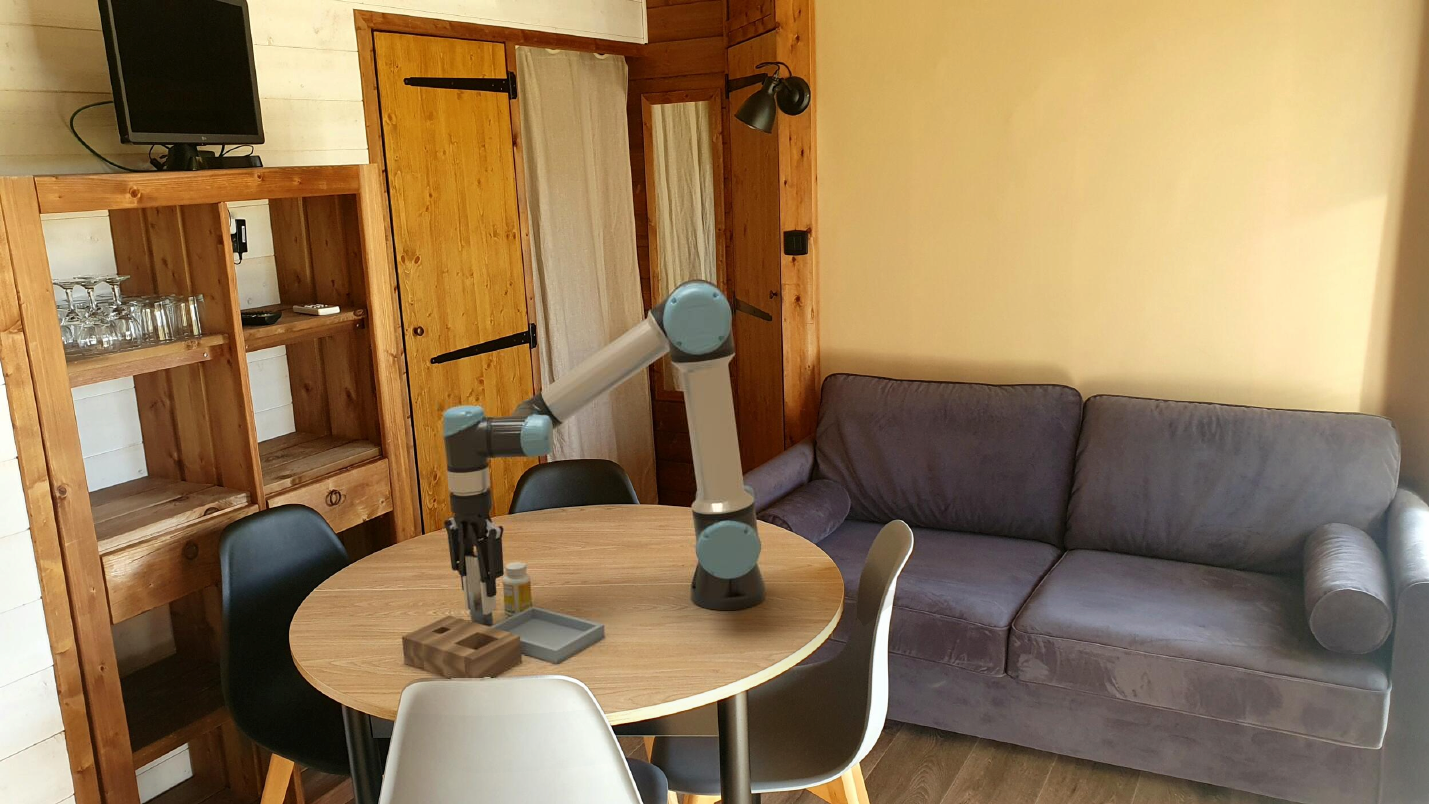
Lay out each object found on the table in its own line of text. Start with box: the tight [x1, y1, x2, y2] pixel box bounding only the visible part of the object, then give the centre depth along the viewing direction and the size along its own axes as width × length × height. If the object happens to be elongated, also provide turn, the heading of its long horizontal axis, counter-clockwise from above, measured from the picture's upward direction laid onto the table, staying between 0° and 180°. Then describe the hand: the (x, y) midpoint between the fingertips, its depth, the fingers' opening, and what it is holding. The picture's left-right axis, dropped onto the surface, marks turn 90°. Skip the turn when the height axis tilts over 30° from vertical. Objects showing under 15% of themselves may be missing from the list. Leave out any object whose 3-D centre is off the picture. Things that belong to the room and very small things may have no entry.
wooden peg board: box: [401, 614, 523, 679], centre depth 183 cm, size 18×11×5 cm, turn 56°
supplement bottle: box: [502, 561, 533, 617], centre depth 205 cm, size 5×5×10 cm
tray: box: [490, 605, 606, 665], centre depth 192 cm, size 18×13×2 cm
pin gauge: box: [465, 550, 494, 627], centre depth 195 cm, size 4×4×15 cm
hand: (480, 609), depth 195 cm, fingers closed on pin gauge, 4 cm apart
